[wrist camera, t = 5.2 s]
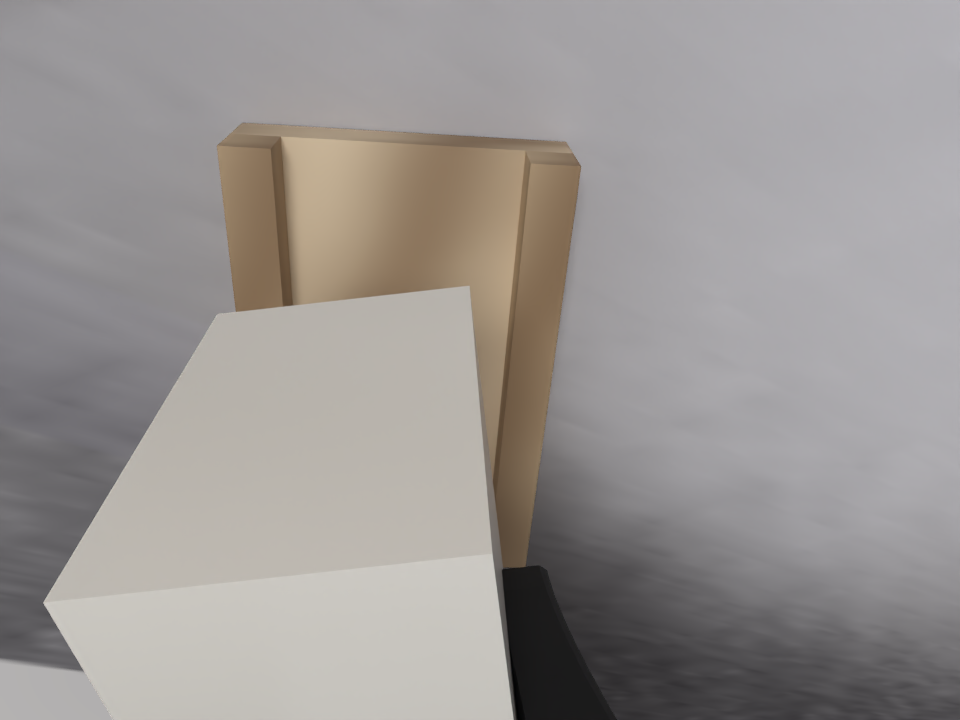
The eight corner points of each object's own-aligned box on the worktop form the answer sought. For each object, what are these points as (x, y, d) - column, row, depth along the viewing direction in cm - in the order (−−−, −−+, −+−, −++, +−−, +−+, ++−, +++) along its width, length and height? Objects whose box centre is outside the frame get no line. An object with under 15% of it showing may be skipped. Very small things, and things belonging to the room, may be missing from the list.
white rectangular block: (521, 722, 15) (554, 1041, 11) (354, 740, 15) (319, 1066, 11) (469, 285, 10) (492, 553, 6) (217, 314, 10) (43, 602, 6)
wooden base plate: (565, 141, 16) (581, 166, 14) (518, 517, 21) (525, 567, 20) (242, 122, 15) (217, 145, 14) (279, 512, 21) (265, 563, 19)
